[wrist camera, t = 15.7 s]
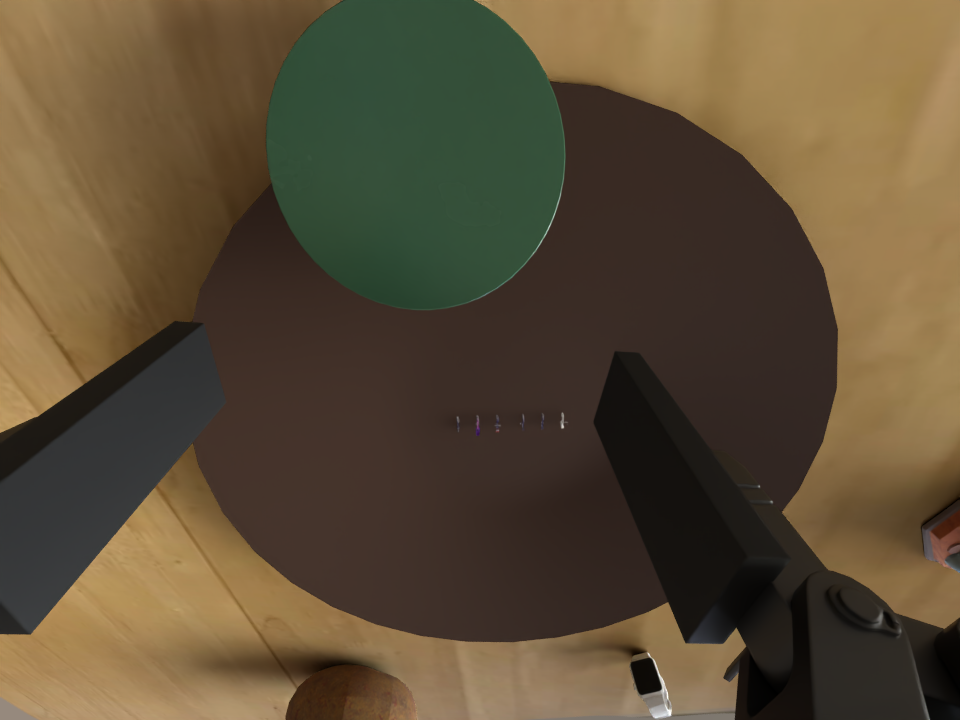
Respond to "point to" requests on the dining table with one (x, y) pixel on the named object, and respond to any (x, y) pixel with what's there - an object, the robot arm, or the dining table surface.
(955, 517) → the model
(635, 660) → the smartwatch
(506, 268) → the jar lid
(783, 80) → the dining table surface
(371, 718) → the potato
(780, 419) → the plate
